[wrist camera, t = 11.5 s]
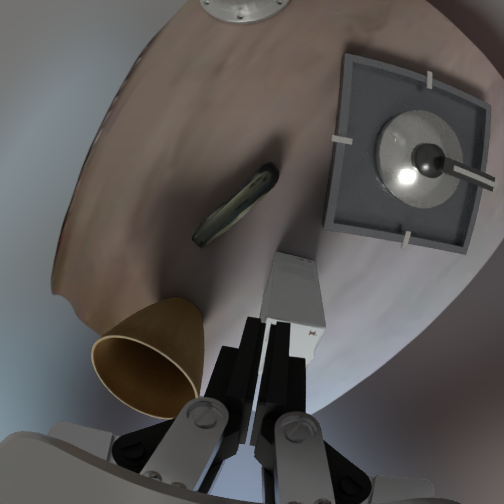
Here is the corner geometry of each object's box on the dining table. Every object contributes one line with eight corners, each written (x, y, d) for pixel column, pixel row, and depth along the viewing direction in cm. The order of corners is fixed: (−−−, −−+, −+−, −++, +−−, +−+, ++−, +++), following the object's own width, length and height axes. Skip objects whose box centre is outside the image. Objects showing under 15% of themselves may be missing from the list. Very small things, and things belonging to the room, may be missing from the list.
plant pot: (224, 356, 47) (200, 430, 32) (146, 339, 48) (106, 400, 34) (228, 282, 41) (194, 356, 26) (137, 267, 43) (78, 322, 28)
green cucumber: (264, 159, 30) (178, 247, 35) (283, 179, 30) (195, 264, 35) (267, 158, 34) (190, 235, 39) (284, 175, 35) (206, 250, 40)
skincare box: (275, 249, 38) (264, 311, 25) (318, 260, 38) (329, 326, 24) (261, 301, 42) (246, 373, 28) (301, 310, 41) (301, 385, 28)
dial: (367, 193, 32) (380, 202, 27) (382, 99, 27) (397, 93, 22) (463, 219, 31) (483, 231, 26) (478, 137, 26) (502, 139, 21)
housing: (336, 53, 27) (340, 46, 25) (484, 103, 25) (496, 102, 22) (315, 228, 36) (317, 235, 34) (459, 253, 34) (468, 260, 31)
